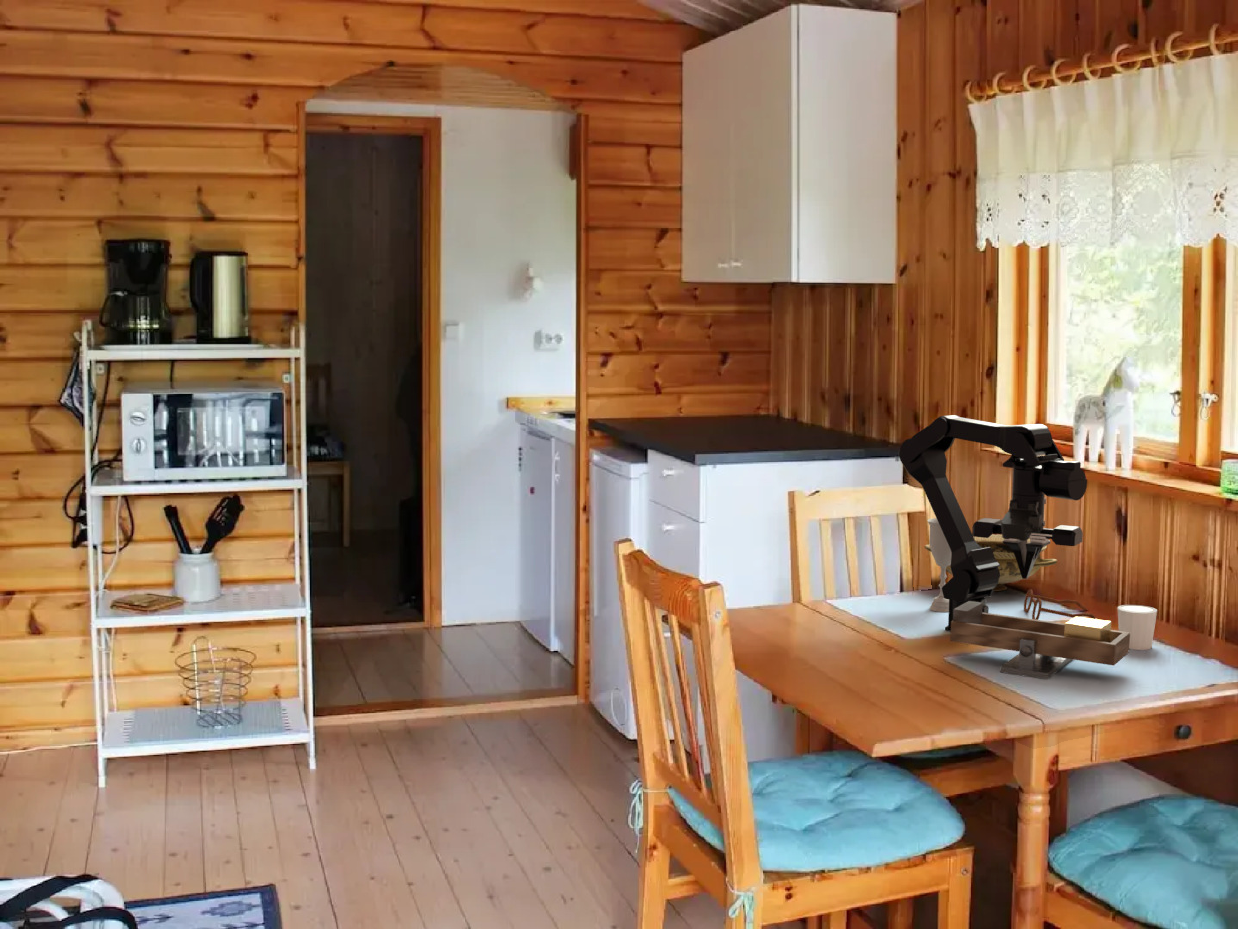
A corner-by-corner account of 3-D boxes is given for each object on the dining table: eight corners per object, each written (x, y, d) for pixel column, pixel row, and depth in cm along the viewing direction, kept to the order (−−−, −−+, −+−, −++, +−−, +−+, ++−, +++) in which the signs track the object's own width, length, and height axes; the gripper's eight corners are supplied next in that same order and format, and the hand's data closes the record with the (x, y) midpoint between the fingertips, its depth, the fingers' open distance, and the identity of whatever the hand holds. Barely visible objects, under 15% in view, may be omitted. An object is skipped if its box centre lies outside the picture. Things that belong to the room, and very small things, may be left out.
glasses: (1022, 611, 296) (1023, 586, 295) (1088, 612, 295) (1089, 588, 294) (1035, 626, 283) (1036, 601, 282) (1104, 628, 282) (1105, 602, 281)
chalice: (962, 613, 292) (965, 524, 290) (928, 613, 292) (931, 524, 290) (955, 605, 299) (957, 518, 297) (921, 604, 299) (924, 518, 297)
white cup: (1150, 652, 262) (1152, 614, 261) (1111, 647, 266) (1113, 609, 265) (1159, 644, 268) (1161, 607, 267) (1120, 639, 271) (1122, 602, 271)
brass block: (1063, 646, 248) (1064, 623, 247) (1074, 639, 253) (1076, 616, 252) (1099, 651, 244) (1100, 628, 244) (1109, 644, 249) (1111, 621, 249)
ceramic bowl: (1077, 588, 315) (1079, 542, 314) (1028, 607, 297) (1030, 559, 296) (950, 570, 335) (952, 526, 333) (897, 586, 317) (899, 541, 315)
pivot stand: (1000, 672, 249) (1001, 638, 248) (1028, 652, 262) (1030, 620, 261) (1047, 679, 245) (1048, 645, 244) (1073, 658, 258) (1075, 626, 257)
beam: (950, 641, 256) (951, 610, 256) (969, 629, 265) (970, 599, 264) (1113, 665, 241) (1115, 633, 241) (1128, 652, 250) (1130, 621, 249)
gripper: (963, 495, 263) (960, 580, 265) (1067, 504, 254) (1064, 592, 256) (983, 487, 273) (980, 570, 275) (1085, 495, 263) (1081, 581, 265)
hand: (1025, 578), depth 267 cm, fingers closed
